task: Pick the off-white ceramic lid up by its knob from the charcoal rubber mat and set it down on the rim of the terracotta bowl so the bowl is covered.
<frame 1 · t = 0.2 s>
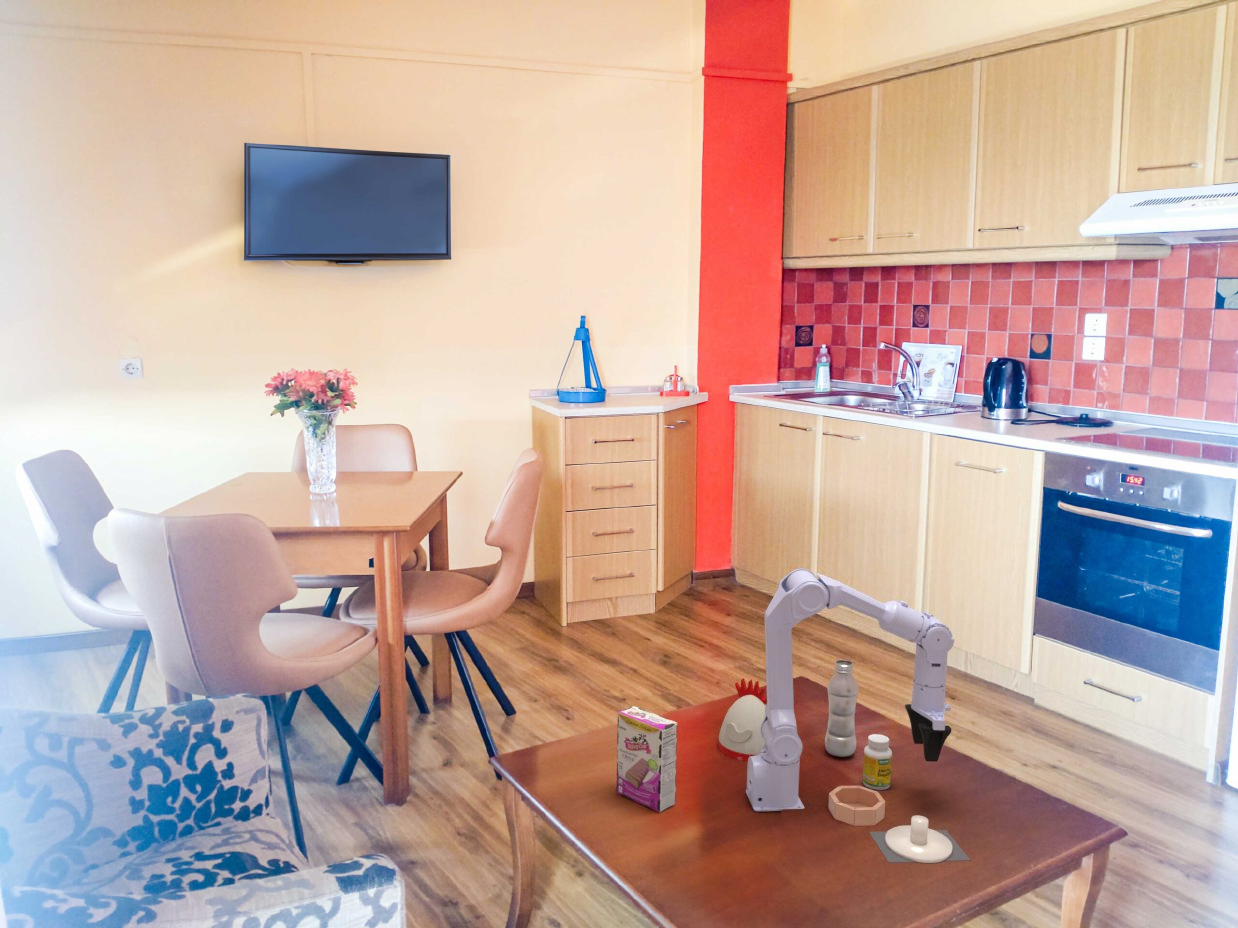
hand: (925, 751, 182), 10 cm above the table, fingers open, 7 cm apart
supplement bottle: (876, 785, 191), on the table
lid: (918, 845, 167), point 1 cm above the table, touching mat
white and red dome: (751, 748, 207), on the table
plastic bottle: (839, 754, 204), on the table
mat: (918, 848, 167), on the table
candy bar box: (645, 800, 183), on the table
bowl: (856, 815, 178), on the table
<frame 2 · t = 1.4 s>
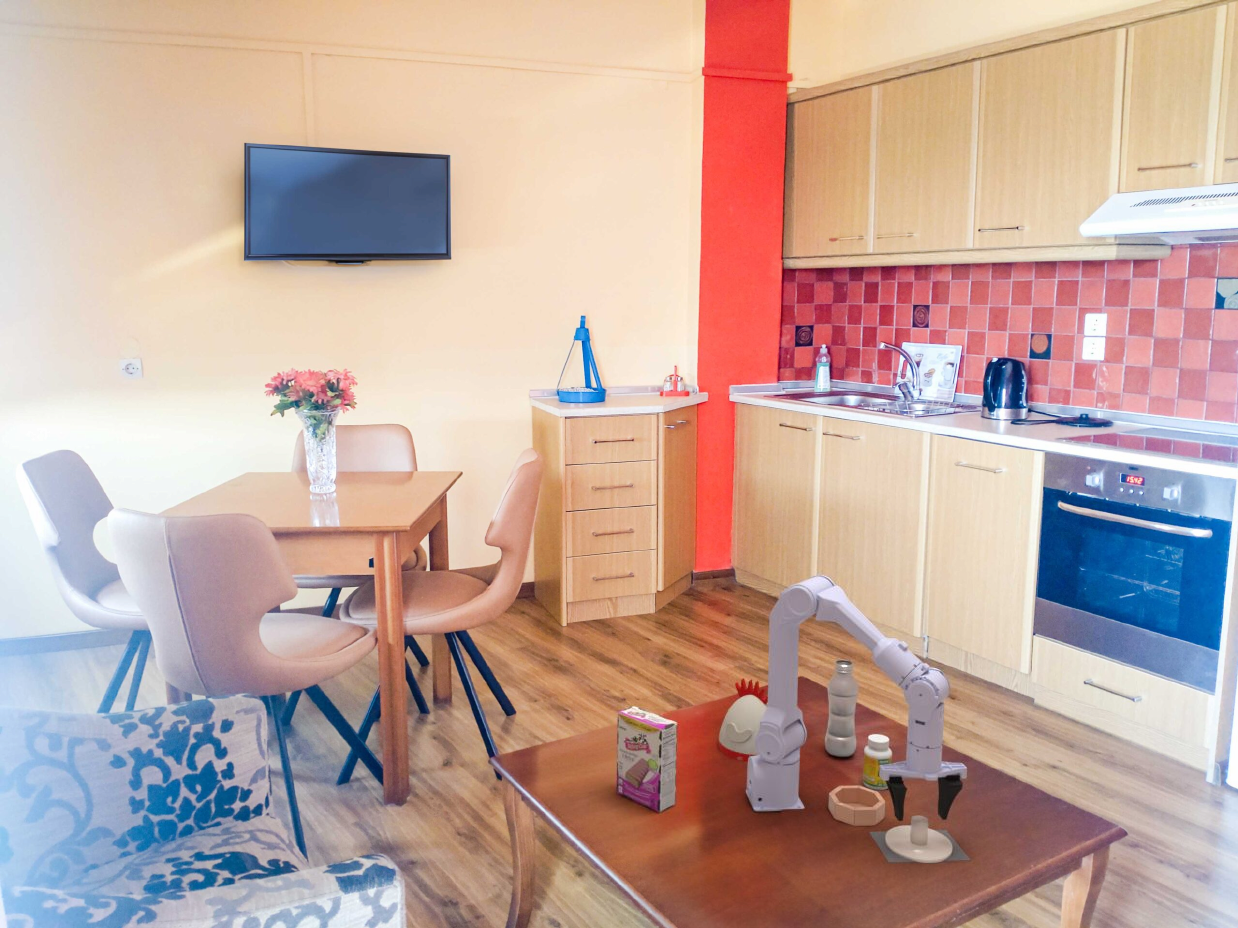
hand: (920, 817, 166), 6 cm above the table, fingers open, 7 cm apart
nothing on the table moved.
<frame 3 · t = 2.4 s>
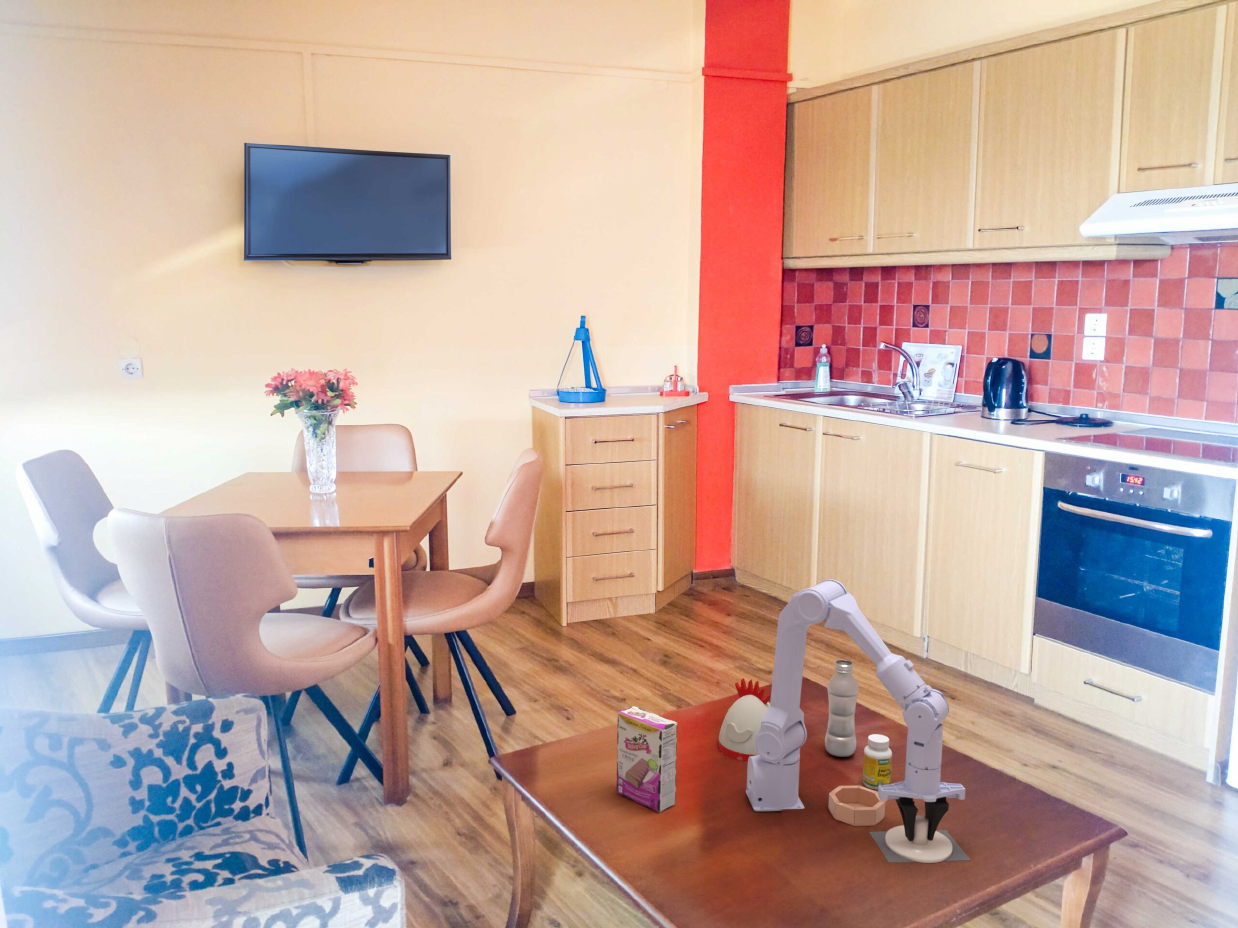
hand: (918, 837, 166), 2 cm above the table, fingers closed on lid, 3 cm apart
lid: (918, 845, 167), point 1 cm above the table, touching gripper, mat
everything else where it was.
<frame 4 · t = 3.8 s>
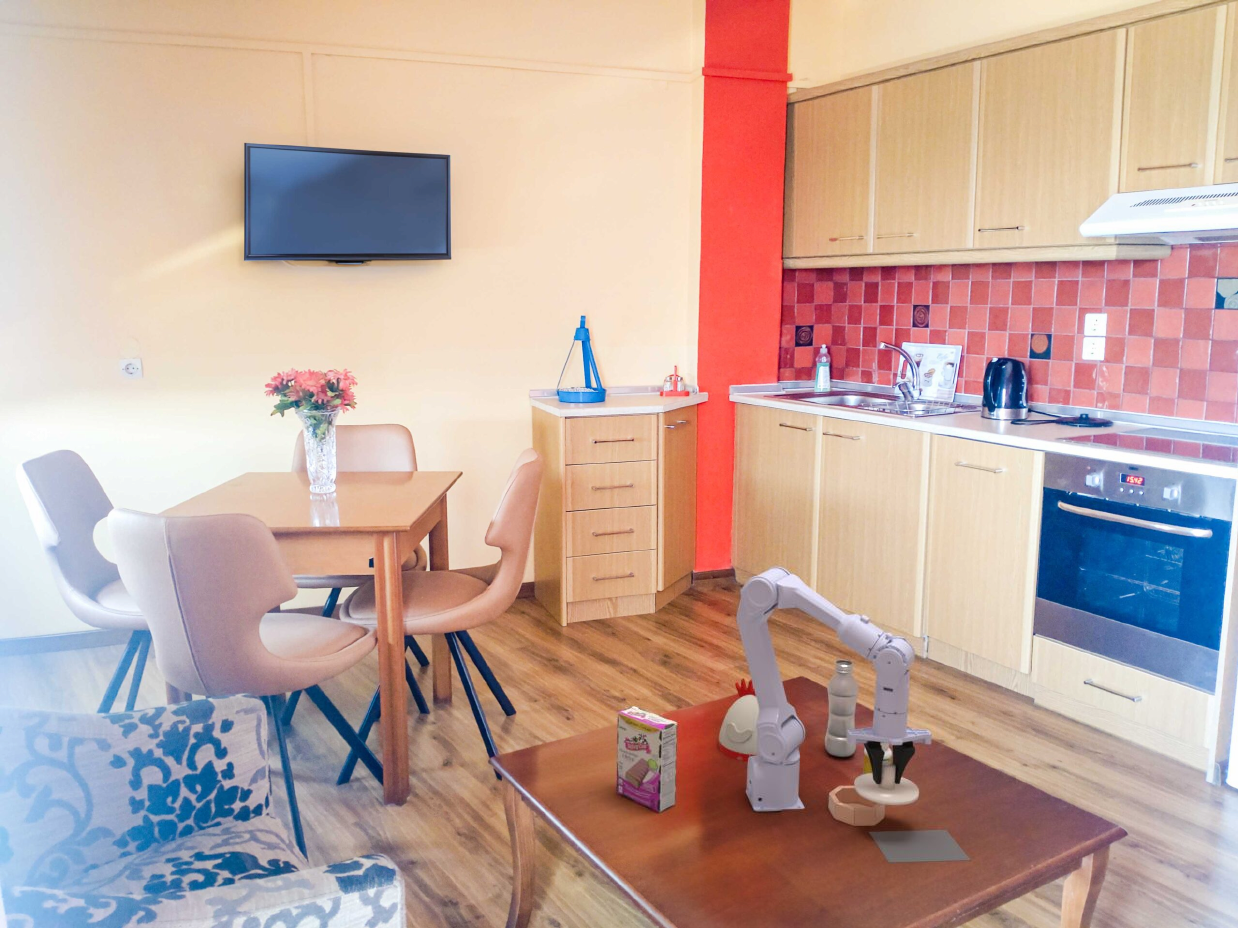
hand: (886, 781, 172), 9 cm above the table, fingers closed on lid, 3 cm apart
lid: (886, 790, 172), point 8 cm above the table, touching gripper
everything else where it was.
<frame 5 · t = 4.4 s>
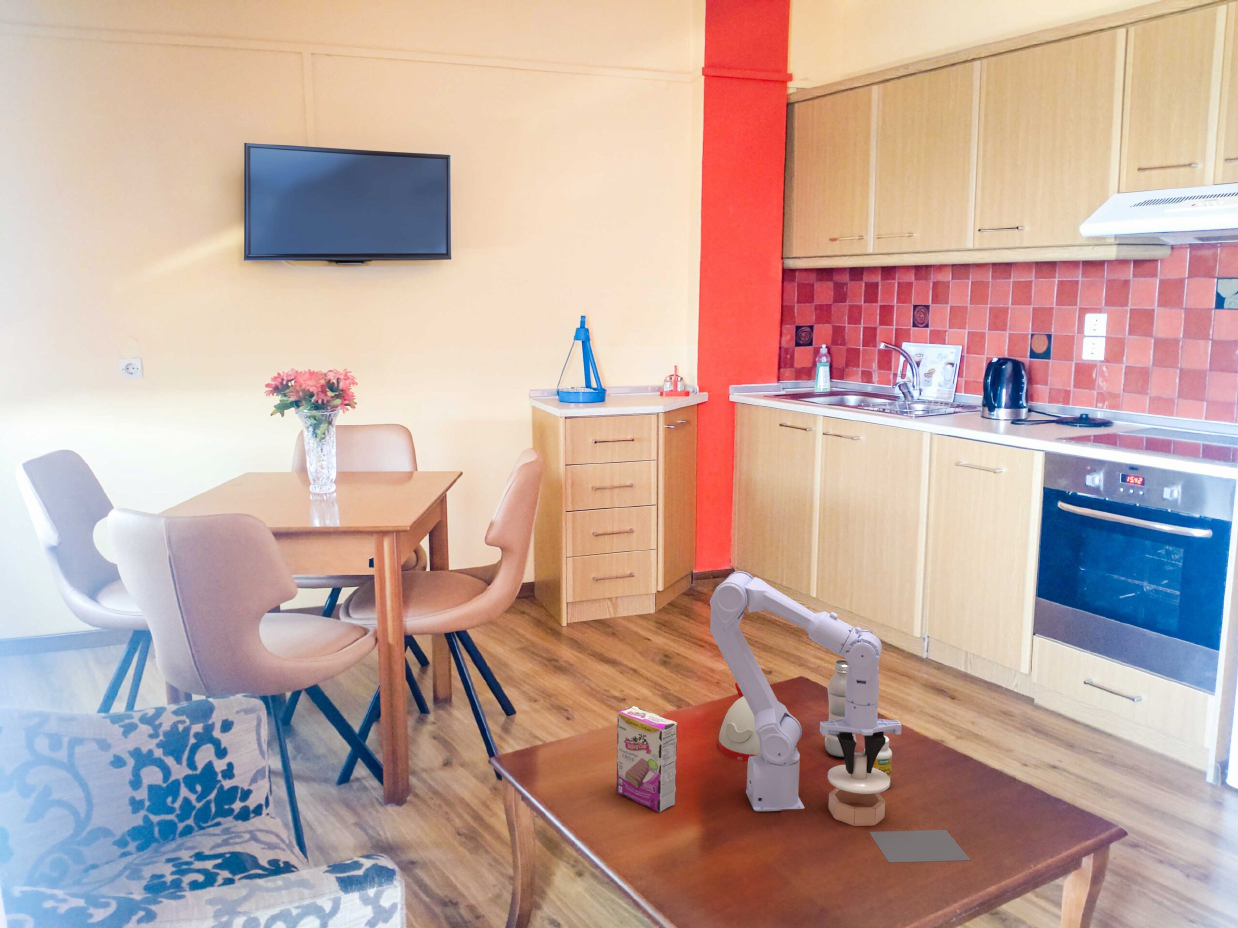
hand: (858, 771, 177), 9 cm above the table, fingers closed on lid, 3 cm apart
lid: (858, 780, 177), point 7 cm above the table, touching gripper
everything else where it was.
when the fingers open (6 cm above the table, at t = 5.1 s): lid stays where it is, resting on bowl.
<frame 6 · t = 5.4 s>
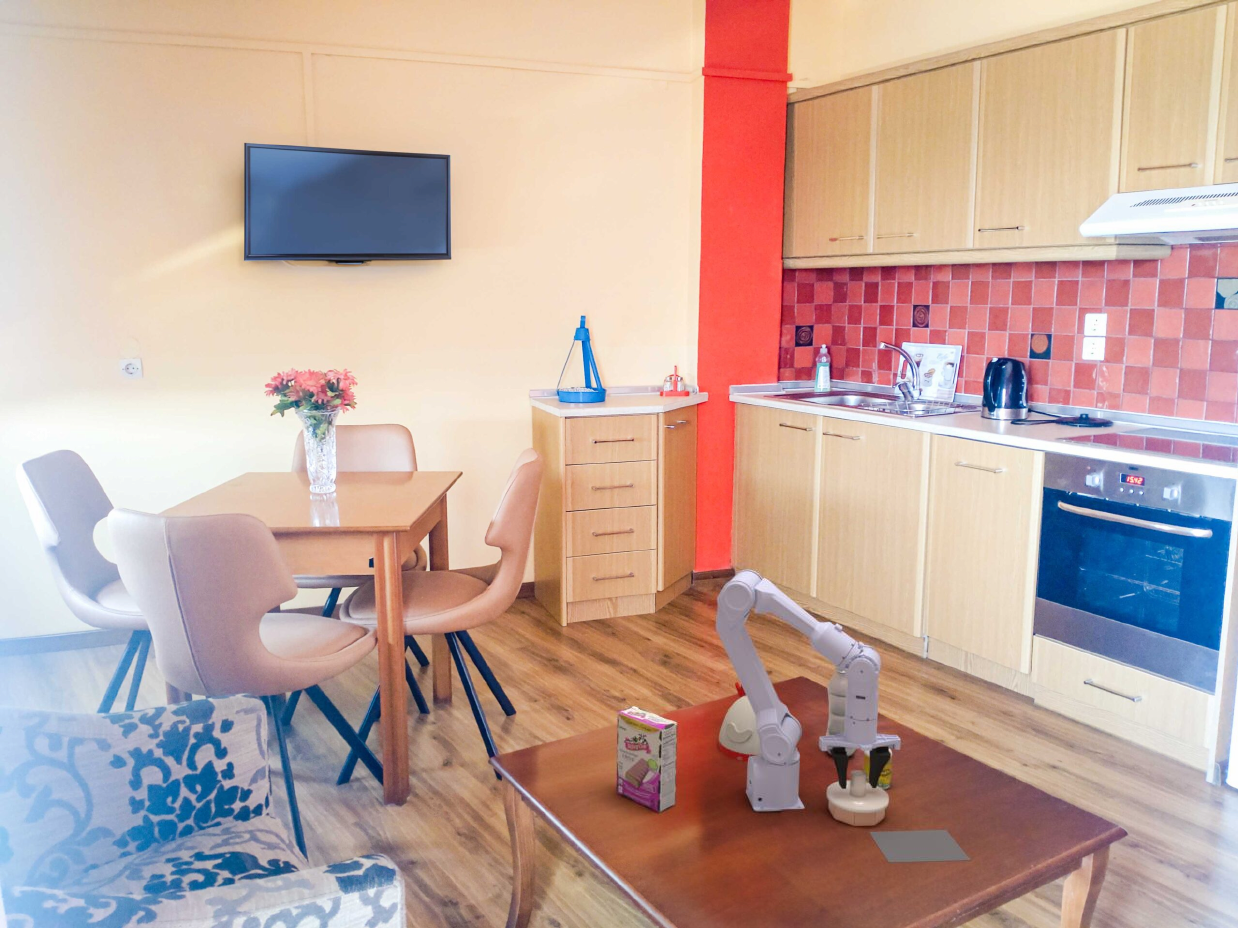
hand: (857, 785, 177), 6 cm above the table, fingers open, 5 cm apart
lid: (857, 798, 177), point 3 cm above the table, touching bowl
everything else where it was.
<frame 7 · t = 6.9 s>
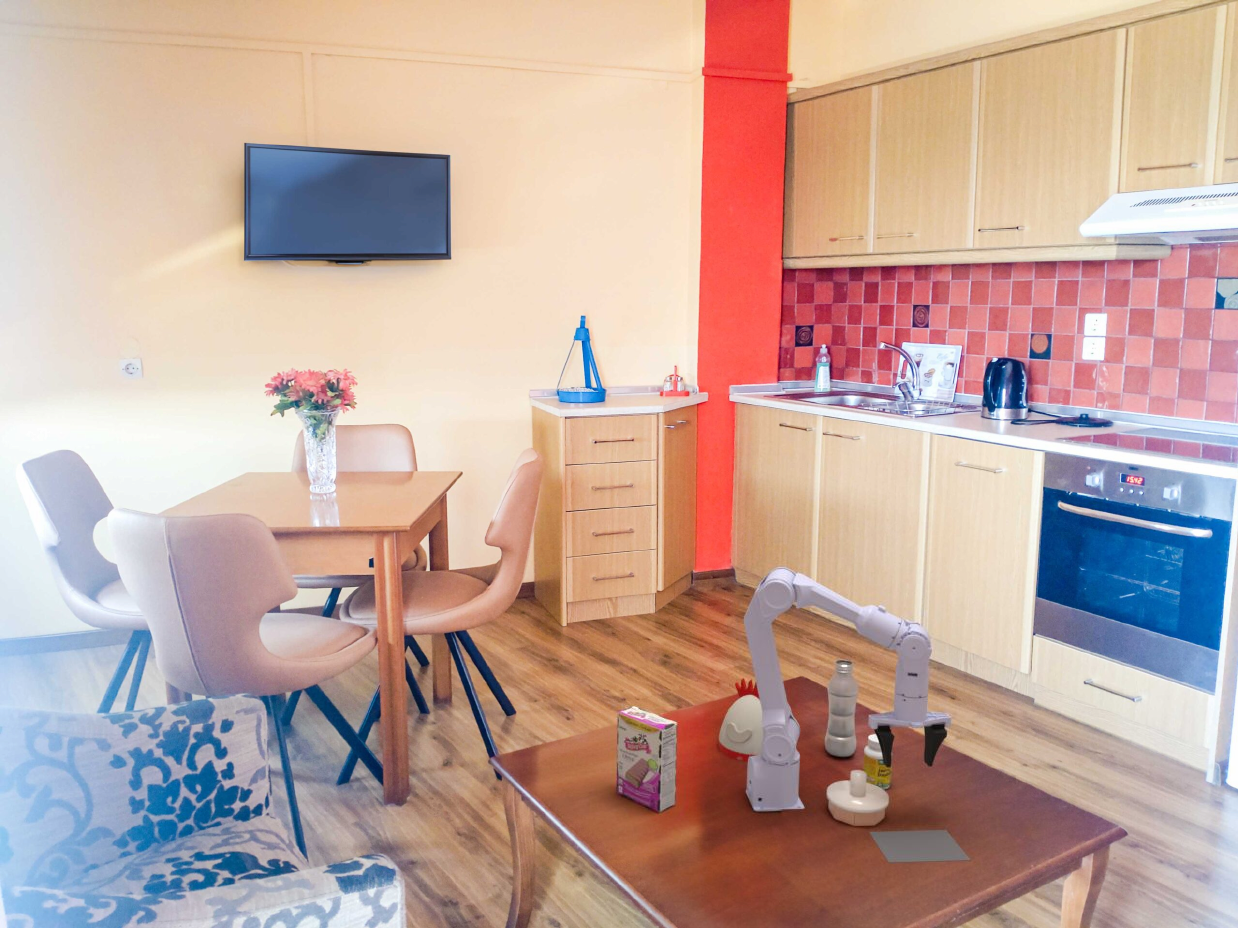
hand: (907, 764, 175), 11 cm above the table, fingers open, 7 cm apart
nothing on the table moved.
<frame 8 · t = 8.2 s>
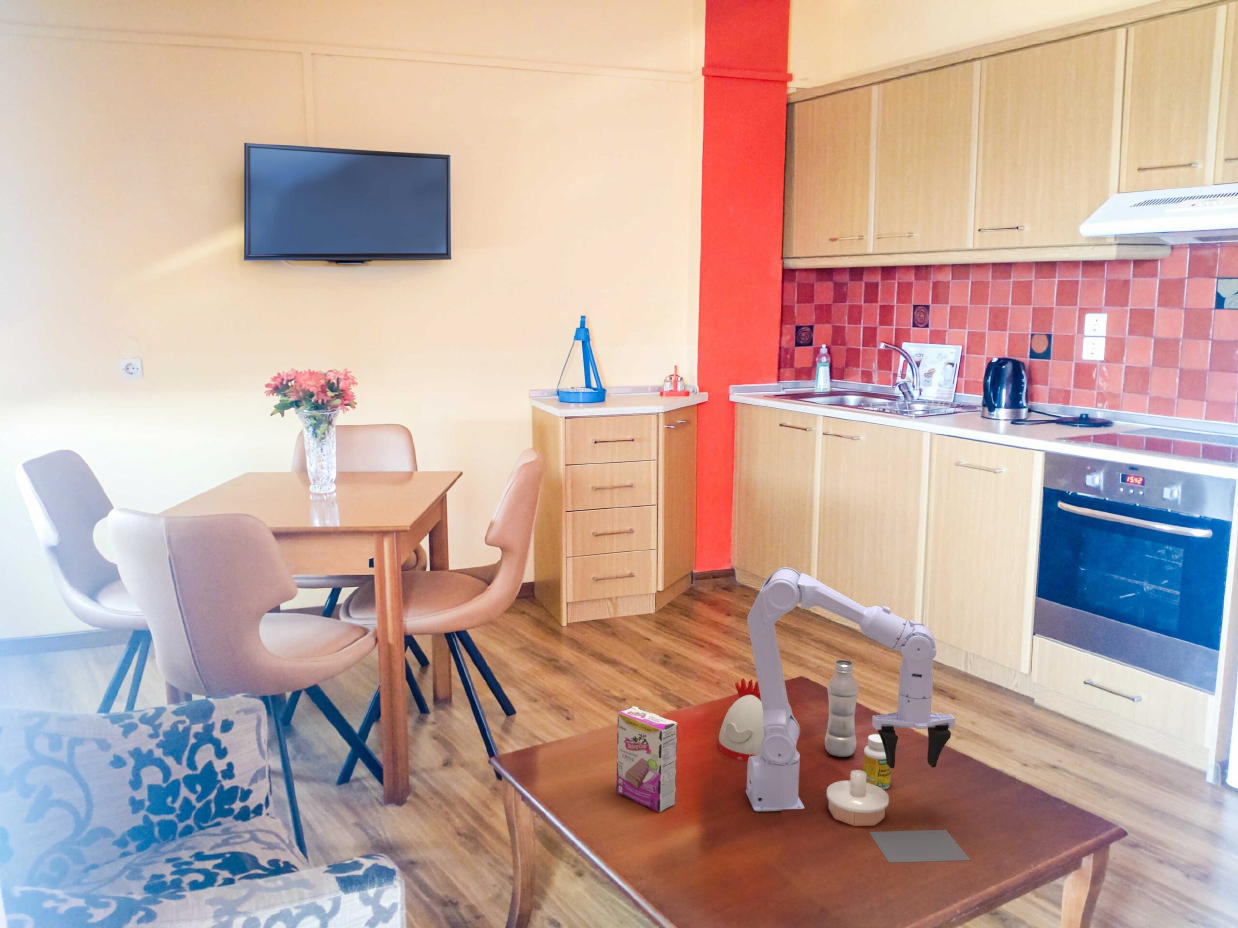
hand: (911, 765, 175), 10 cm above the table, fingers open, 7 cm apart
nothing on the table moved.
at the end: lid 0.3 cm off-centre on the bowl, point 3.5 cm above the bowl's base; lid tilted 0°; the gripper is holding nothing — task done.
